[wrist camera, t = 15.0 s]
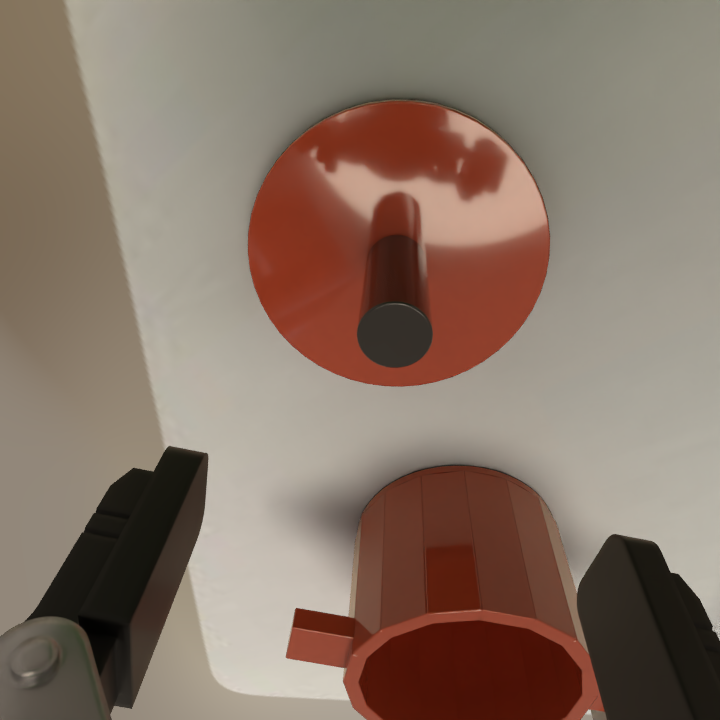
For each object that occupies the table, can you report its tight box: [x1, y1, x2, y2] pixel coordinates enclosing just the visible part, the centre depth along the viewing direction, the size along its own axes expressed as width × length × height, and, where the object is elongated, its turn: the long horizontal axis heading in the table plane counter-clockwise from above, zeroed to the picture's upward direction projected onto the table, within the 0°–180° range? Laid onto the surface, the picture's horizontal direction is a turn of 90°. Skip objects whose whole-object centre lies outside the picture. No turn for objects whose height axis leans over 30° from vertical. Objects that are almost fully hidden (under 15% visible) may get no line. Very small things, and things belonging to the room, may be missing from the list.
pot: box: [286, 465, 605, 720], centre depth 30 cm, size 11×16×8 cm
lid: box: [248, 99, 550, 386], centre depth 21 cm, size 12×12×7 cm
